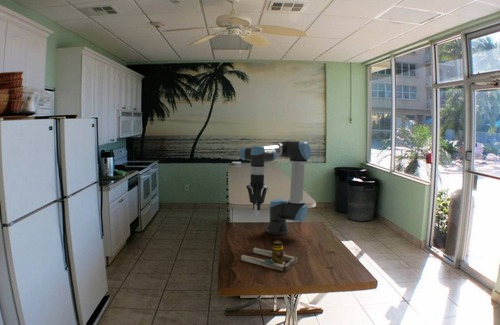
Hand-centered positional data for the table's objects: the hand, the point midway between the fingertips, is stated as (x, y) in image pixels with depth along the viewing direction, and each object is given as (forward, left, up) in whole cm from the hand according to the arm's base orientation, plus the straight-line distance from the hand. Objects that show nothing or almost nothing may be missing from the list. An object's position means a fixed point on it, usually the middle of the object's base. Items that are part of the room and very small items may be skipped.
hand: (256, 215), depth 178 cm
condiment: (0, +13, -25) cm, 28 cm away
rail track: (0, +8, -24) cm, 26 cm away
